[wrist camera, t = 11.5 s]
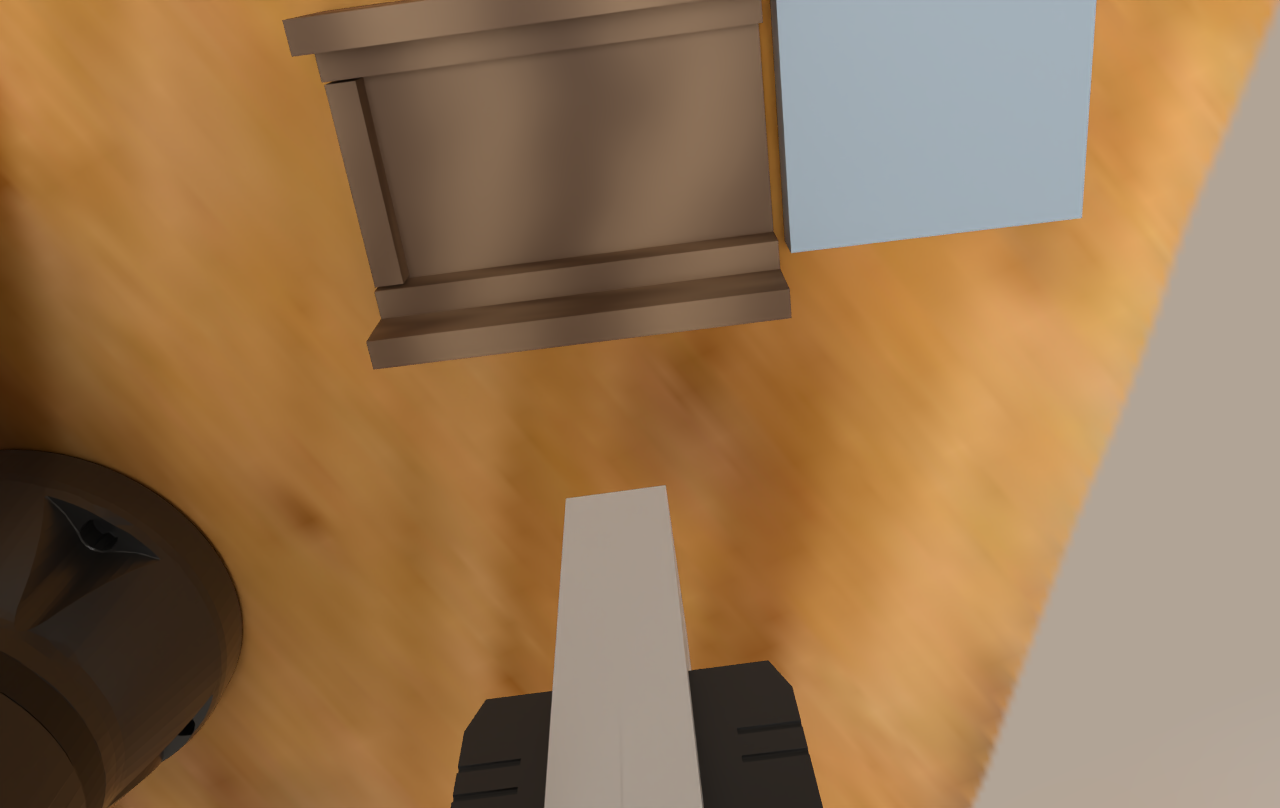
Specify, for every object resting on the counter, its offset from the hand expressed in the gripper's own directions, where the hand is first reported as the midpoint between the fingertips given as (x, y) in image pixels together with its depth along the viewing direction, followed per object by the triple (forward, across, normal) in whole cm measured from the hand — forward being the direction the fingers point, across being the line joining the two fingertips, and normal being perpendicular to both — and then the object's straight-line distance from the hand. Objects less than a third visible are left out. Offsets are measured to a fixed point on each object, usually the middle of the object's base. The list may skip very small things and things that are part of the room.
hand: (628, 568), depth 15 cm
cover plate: (+23, +11, +2) cm, 25 cm away
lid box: (+22, -2, +2) cm, 22 cm away
